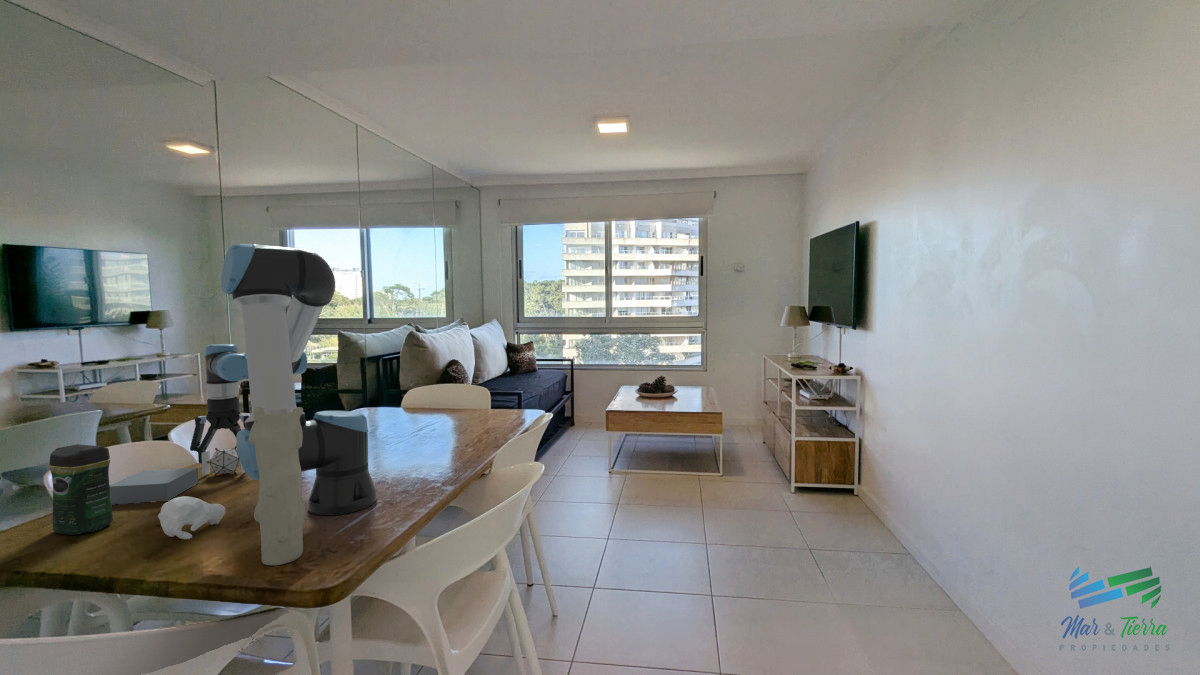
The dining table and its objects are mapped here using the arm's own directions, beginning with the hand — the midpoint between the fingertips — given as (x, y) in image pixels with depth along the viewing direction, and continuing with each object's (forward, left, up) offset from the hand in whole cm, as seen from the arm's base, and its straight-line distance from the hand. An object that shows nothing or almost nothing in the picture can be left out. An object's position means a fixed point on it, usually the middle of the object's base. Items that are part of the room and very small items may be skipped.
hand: (225, 472), depth 147 cm
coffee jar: (-35, +12, -1) cm, 37 cm away
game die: (0, 0, -1) cm, 1 cm away
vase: (-59, -36, -1) cm, 69 cm away
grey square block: (-14, +10, -1) cm, 17 cm away
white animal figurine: (-42, -13, -1) cm, 44 cm away
